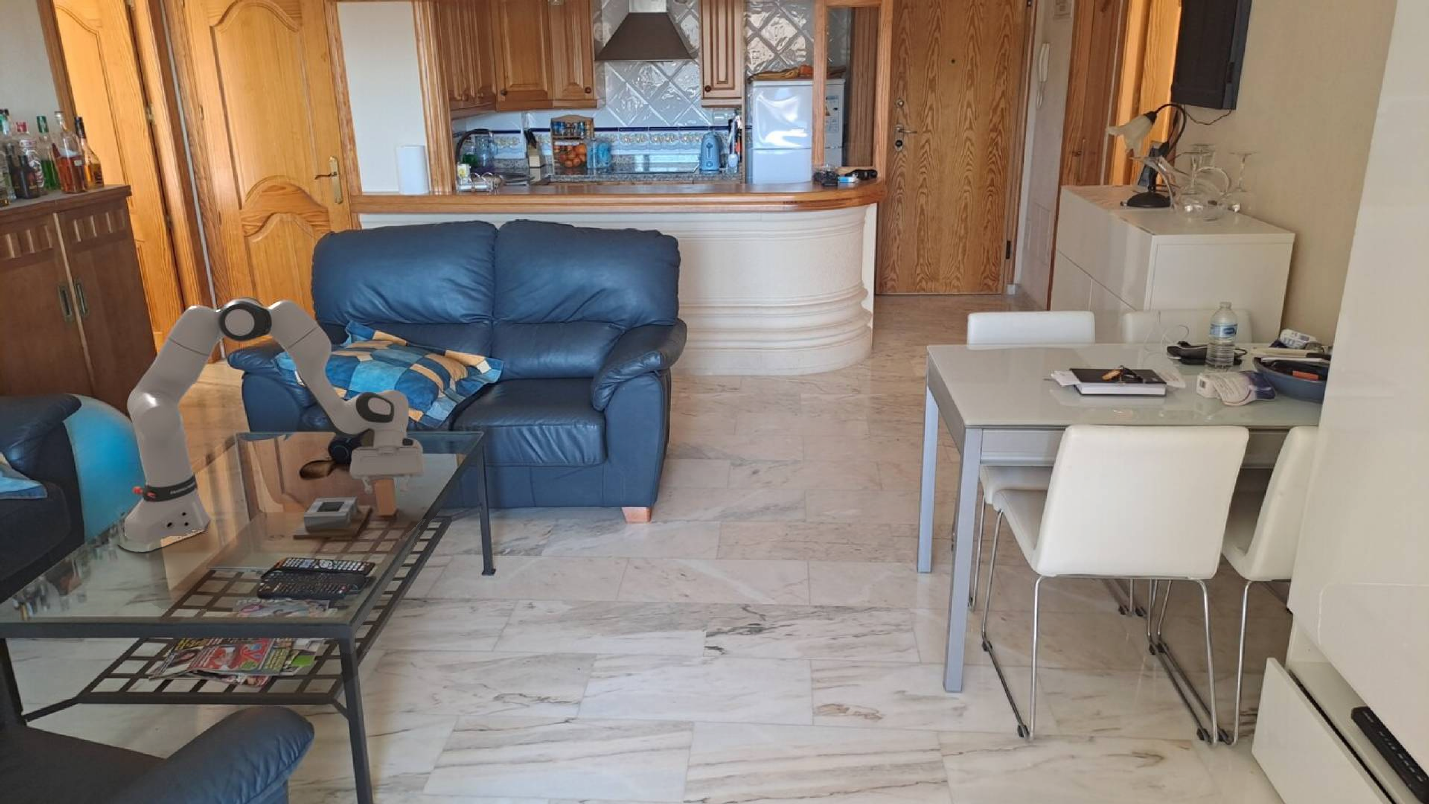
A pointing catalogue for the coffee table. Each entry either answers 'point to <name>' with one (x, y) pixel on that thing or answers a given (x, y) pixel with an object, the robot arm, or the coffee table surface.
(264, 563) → the coffee table surface
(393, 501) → the post
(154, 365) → the robot arm
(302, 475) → the sunglasses case
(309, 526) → the well
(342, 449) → the portable speaker
